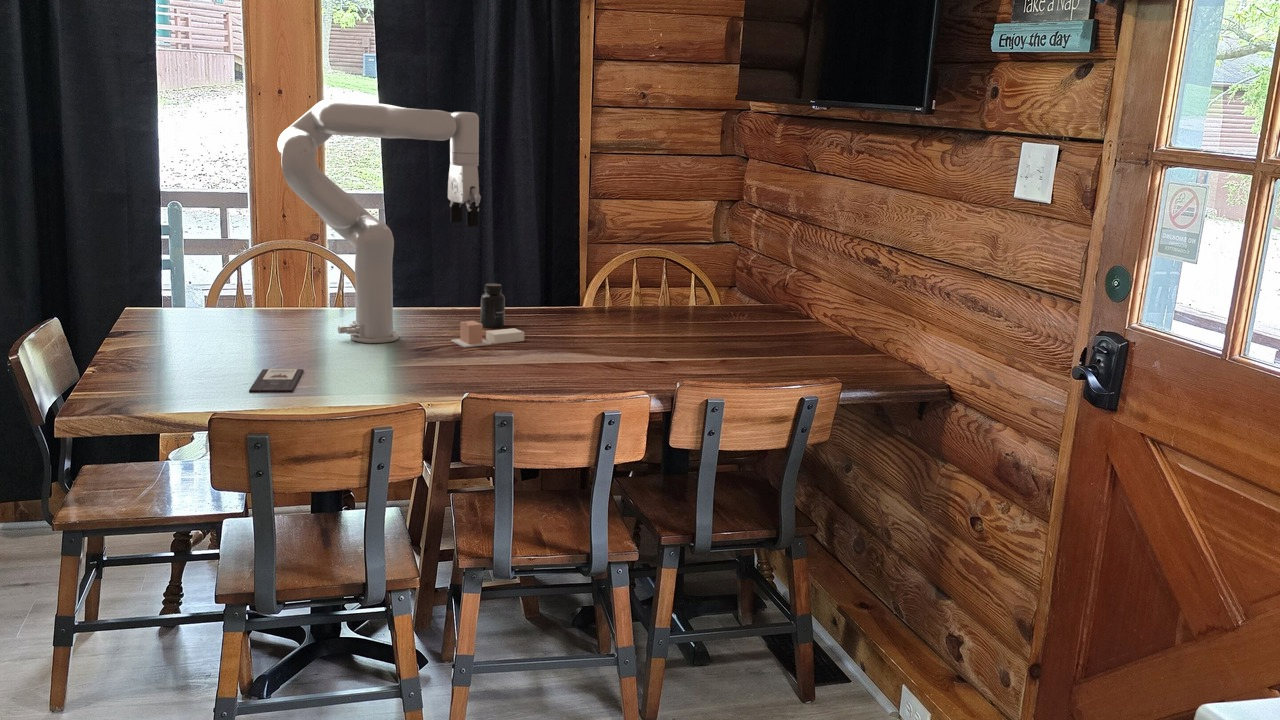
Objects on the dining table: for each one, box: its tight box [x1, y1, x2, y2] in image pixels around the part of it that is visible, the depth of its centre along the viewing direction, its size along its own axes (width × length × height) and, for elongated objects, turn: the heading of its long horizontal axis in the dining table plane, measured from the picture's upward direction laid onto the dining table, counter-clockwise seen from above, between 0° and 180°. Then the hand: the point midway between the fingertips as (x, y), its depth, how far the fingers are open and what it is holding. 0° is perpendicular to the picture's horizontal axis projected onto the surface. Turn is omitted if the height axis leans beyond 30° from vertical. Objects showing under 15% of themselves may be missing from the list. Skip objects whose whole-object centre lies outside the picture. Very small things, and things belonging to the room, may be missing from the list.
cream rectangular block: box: [485, 327, 525, 345], centre depth 285 cm, size 9×5×3 cm, turn 125°
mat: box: [451, 338, 493, 348], centre depth 280 cm, size 8×8×1 cm
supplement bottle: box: [480, 283, 506, 329], centre depth 301 cm, size 7×7×12 cm
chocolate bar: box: [248, 368, 304, 394], centre depth 236 cm, size 9×1×18 cm
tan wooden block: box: [459, 320, 484, 344], centre depth 280 cm, size 4×5×5 cm
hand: (464, 224), depth 284 cm, fingers open, 9 cm apart
